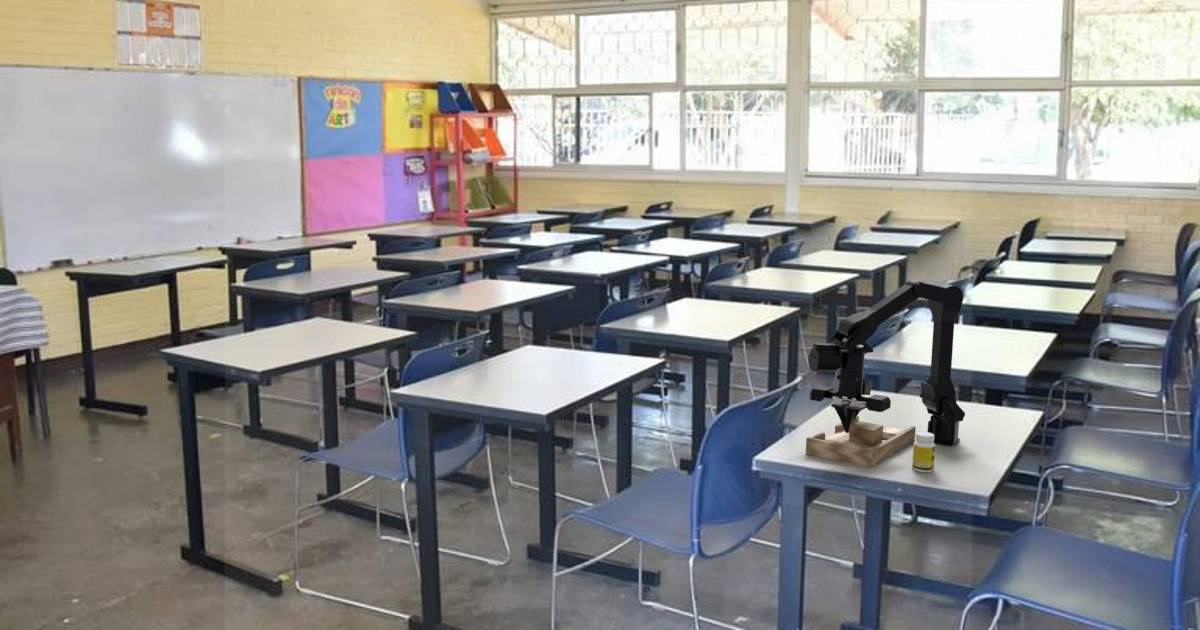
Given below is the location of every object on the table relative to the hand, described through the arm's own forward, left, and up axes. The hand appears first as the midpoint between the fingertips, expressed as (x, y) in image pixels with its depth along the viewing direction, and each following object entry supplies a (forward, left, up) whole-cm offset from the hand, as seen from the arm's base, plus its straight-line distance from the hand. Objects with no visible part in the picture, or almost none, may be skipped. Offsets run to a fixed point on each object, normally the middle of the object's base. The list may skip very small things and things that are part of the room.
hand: (847, 432), depth 253 cm
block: (-5, 0, -2) cm, 5 cm away
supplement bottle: (-21, +6, -4) cm, 22 cm away
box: (-3, -2, -4) cm, 5 cm away
